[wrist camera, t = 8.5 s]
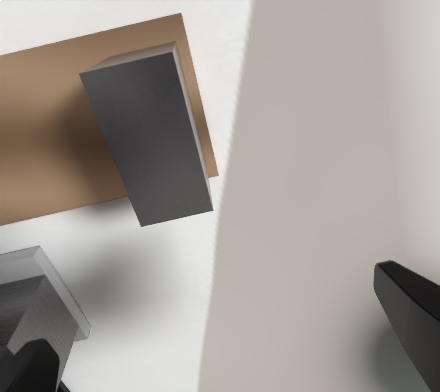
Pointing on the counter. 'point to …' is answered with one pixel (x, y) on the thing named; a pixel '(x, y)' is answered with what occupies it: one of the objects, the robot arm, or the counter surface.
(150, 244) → the counter surface
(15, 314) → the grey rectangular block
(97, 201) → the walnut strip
